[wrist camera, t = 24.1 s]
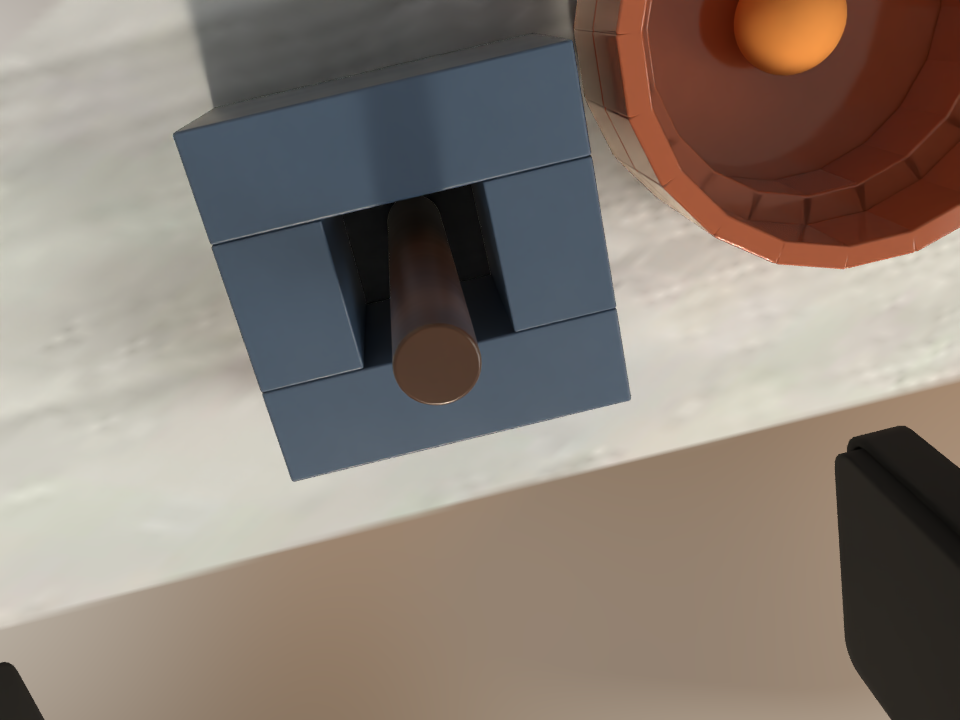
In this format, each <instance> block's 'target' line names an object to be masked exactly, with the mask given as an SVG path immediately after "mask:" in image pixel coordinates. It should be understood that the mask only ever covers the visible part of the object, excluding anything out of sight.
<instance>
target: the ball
mask: <svg viewBox="0 0 960 720" xmlns="http://www.w3.org/2000/svg"><path fill="white" fill-rule="evenodd" d="M846 20H847V3H846V0H739V2H738V4H737V7H736V11H735V16H734V34H735V39H736V42H737V45H738V47H739V49H740V51H741V53H742V54H743V56H744V57H745V58H746V59H747V61H748V62H750V63H751V64H752V65H753V66H754V67H756V68H757V69H759V70H761V71H763V72H766V73H769V74H773V75H782V76H787V75H795V74H799V73H802V72H805V71H807V70H810V69H811V68H813V67H815V66H817V65H818V64H820V63H821V62H822V61H823V60H825V59H826V58H827V57H828V56H829V55H830V54H831V52H832V51H833V50H834V49H835V47H836V46H837V44H838V43H839V41H840V39H841V37H842V34H843V32H844V29H845V25H846Z"/></svg>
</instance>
